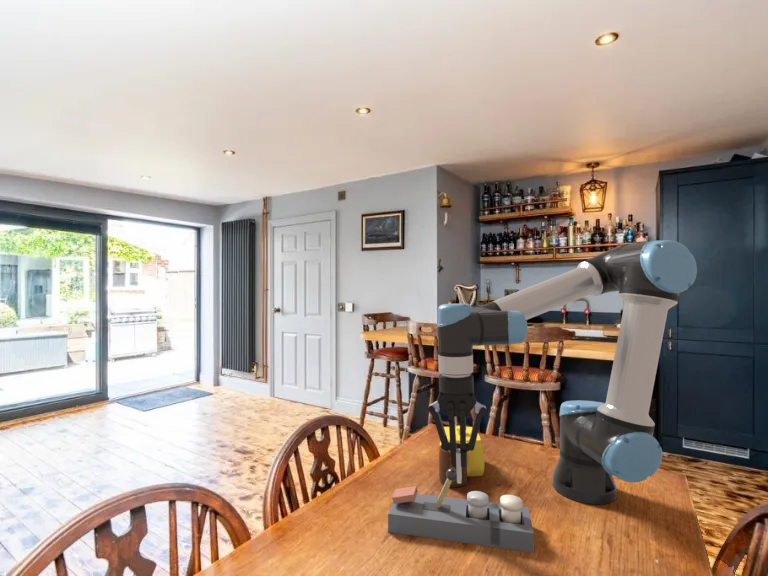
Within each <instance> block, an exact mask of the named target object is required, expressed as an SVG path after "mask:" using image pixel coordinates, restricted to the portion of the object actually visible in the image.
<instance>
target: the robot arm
mask: <svg viewBox="0 0 768 576" xmlns="http://www.w3.org/2000/svg"><path fill="white" fill-rule="evenodd" d="M697 267H698V266H697V262H696V258H695V256H694V255H693V253H691V252H690V250H689V248H688V247H686V245H684V244H682V243H680V241H679V242H678V241H676V240H671V239H668V240H667V239H662V240H661V239H660V240H658V239H654V240H650V241H646V242H645V241H644V242H638V243H632V244H622V245H620V246H616V247H613V248H611V249H609V250H606V251H605V252H601V253H600V254H598V255H595V256H593V257H591V258H588V259H586V260H584V261H581V262H579V263H578V264H577V267H576V268H574V269H570V270H569V271H566V272H564V273H560V274H558V275H556V276H554V277H551V278H549V279H546V280H543V281H541V282H539V283H536V284H533V285H530V286H528V287H526V288H523V289H520V290H519V291H518V290H517V291H516V292H513V293H510V294H508V295H506V296H502V297H500V298H498V299H495V300H493V301H490V302H487V303H485V304H482V305H480V306H471V304H469V303H443V304H440V305H439V306H438V307H437V316H436V318H437V320H436V327H437V348H438V350H437V351H438V355H437V360H438V361H437V362H438V363H437V364H438V372H439V373H440V374H439V376H438V387H439V390H438V391H439V394H438V397H437V399H436V401H434V402H431V403H429V404H428V408H427V409H428V412H429V413H430V414H431V416H432V417H433V420H434V424H435V428H436V430H437V431H436V432H437V435H438V438H439V441H441V444H442V448H443V449H447V450H449V451H450V452H451V465H452V466H456V467H457V483H459V484H461V481H462V471H461V467H466V452H467V451H473V450H474V447H475V443H476V439H477V435H478V434H479V430H480V426H481V422H482V419H483V417H484V416H485V414H486V413H487V406H486V405H485V404H482V403H480V402H478V401H477V397H476V395H475V386H474V385H475V383H474V375H473V374H472V373H473V372H474V352H473V350H474V349H473V348H474V347H475V346H476V347H479V346H502V345H503V346H505V345H506V346H511V345H518V344H522V343H524V342H525V340H526V339H527V336H528V323H527V321H528V320H530V319H532V318H534V317H537V316H540V315H542V314H544V313H545V314H546V313H547V312H550V311H552V310H555V309H557V308H560V307H562V306H565V305H567V304H570V303H572V302H575V301H578V300H580V299H582V298H586V297H588V296H592V297H598V296H601V295H604V294H607V293H608V294H609V293H612V292H613V293H614V292H618V296H619V298H621V300H622V302H623V310H622V315H621V320H620V324H619V326H620V327H619V330H618V336H617V341H616V346H615V347H616V348H615V352H614V358H613V363H612V367H611V368H612V369H611V371H610V372H611V373H610V377H609V384H608V389H607V393H606V400H605V402H601V401H594V400H581V399H579V400H578V399H577V400H566V401H564V402H562V403H561V405H560V407H559V413H558V414H559V415H558V416H559V457H558V460H557V462H556V465H555V468H554V470H553V473H552V481H551V483H552V487H553V488H554V490H555V491H556V492H558V493H559V494H560V495H562V496H564V497H566V498H568V499H570V500H572V501H575V502H580V503H583V504H590V505H604V504H605V505H606V504H610V503H613V502H615V500H616V499H617V485H616V482H615V478H614V477H616V478H617V479H619V480H621V481H623V482H626V483H639V482H643V481H645V480H647V479H648V478H649V477H653V476H654V474H655V473H656V472H657V471H658V469H659V468H660V466H661V464H662V461H663V449H662V446H660V443H659V441H658V440H657V439H656V438H655V437H654V436H653V435H654V430H655V425H656V423H655V421H653V419H652V417H650V415H649V413H650V409H651V402H652V398H653V397H652V396H653V391H654V386H655V381H656V375H657V370H658V365H659V359H660V353H661V349H662V343H663V337H664V332H665V328H666V323H667V317H668V311H669V310H670V309H671V308H672V307H675V306H676V305H678V303H679V298H680V293H683V292H684V291H687V290H688V289H689V287H691V286H692V285H693V284H694V283H695V281H696V278H697V273H698V268H697ZM440 407H441V409H442V410H443V412H444V413H445V414H446V415H447V416H448V427H449V434H450V442H448V439H447V436H446V433H445V429H444V427H445V426H444V423H443V419H442V417H441V413H440V410H441V409H440ZM473 409H474V412H475V417H474V421H473V424H472V426H471V427H472V432H471V436H470V440H469V443H466V427H467V422H466V421H467V416H468V415H469V414H470V412H471V411H472V410H473ZM456 417H458V418H459V426H460V449H457V447H456V429H455V425H456Z"/></svg>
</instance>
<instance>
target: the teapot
mask: <svg viewBox="0 0 768 576" xmlns="http://www.w3.org/2000/svg"><path fill="white" fill-rule="evenodd" d="M472 427H473V426H466V443H469V440H470V436H471V432H472ZM444 429H445V433H446V436H447V439H448V442H450V434H449V426H444ZM455 429H456V443H460V425H456V424H455ZM439 441H440V440H439ZM440 445H441V441H440V442H439V446H440ZM448 452H450V451H449V450H448ZM484 472H485V455H484V447H483V442H482V438H481V436H480V434H479V433H478V435H477V439H476V443H475V447H474V450H473V451H467V477H482V476H483V475H484Z"/></svg>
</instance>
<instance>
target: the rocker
mask: <svg viewBox="0 0 768 576" xmlns="http://www.w3.org/2000/svg"><path fill="white" fill-rule="evenodd" d="M418 492H419V491H418V487H417V485H415V486H407V487H402V488H401V487H400V488H396V489H395V490H394V492H393V494H392V503H394V504H397V503H404V502H411V501H415V500H416V496H417V494H419V493H418Z"/></svg>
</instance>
